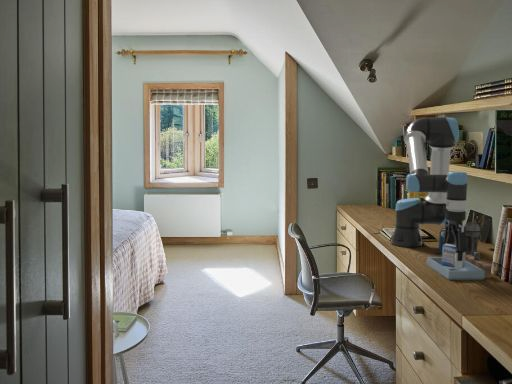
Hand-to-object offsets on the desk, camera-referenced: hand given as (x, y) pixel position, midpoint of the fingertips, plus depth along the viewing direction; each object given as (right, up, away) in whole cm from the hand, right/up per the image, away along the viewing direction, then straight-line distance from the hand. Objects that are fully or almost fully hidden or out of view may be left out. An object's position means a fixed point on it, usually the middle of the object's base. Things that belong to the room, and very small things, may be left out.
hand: (453, 265), depth 202 cm
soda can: (+9, 0, +30) cm, 32 cm away
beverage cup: (+20, 0, +30) cm, 36 cm away
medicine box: (0, -1, 0) cm, 1 cm away
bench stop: (+9, -3, +1) cm, 10 cm away
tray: (0, -3, 0) cm, 3 cm away
